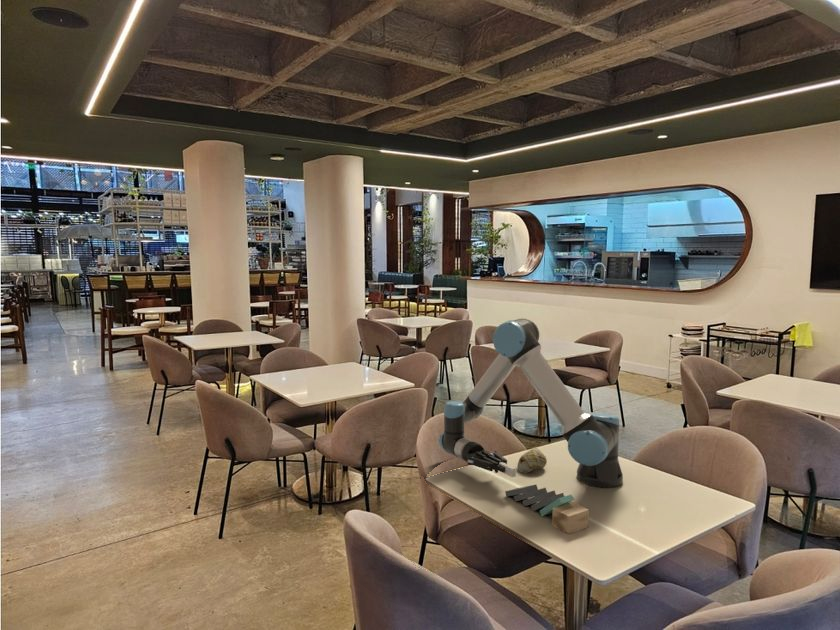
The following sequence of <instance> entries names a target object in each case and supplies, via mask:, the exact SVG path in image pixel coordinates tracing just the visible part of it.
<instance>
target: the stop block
mask: <svg viewBox="0 0 840 630" xmlns="http://www.w3.org/2000/svg"><path fill="white" fill-rule="evenodd" d="M589 513H590V512H589V509H588V508H586V507H584V506H582V505H580V504H578V503H576V502H574V501H571V502H570V503H567V504H564V505H561V506H558V507H555V508H553V513H551V515H552V516H551V517H552V521H551V522H552V523H551V525H552V526H553V527H555V528H557V529H559V530H560V531H562V532H564V533H566V534H568V535H569V534H572V533H574V532H578V531H580V530H583V529H586V528H589V517H590V515H589Z"/></svg>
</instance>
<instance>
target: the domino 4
mask: <svg viewBox="0 0 840 630" xmlns="http://www.w3.org/2000/svg"><path fill="white" fill-rule="evenodd" d="M564 496H565V494H564V492H561V493H558V494H557V493H556V495H554V496H551V497H548V498H546V499H544V500H542V501H540V502H537V503H534V504H531V505H530V508H531V510H532V512H536V511H538V510H542V509H543V508H545V507H546V506H548V505H549V504H551V503H552V502H554V501H555V500H557V499H558V498H561V497H564Z"/></svg>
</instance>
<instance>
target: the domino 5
mask: <svg viewBox="0 0 840 630" xmlns="http://www.w3.org/2000/svg"><path fill="white" fill-rule="evenodd" d="M574 500H575V499H574V497H573V495H572V494H568V495H564V497H561V498H558V499H557V500H555V501H554V502H552V503H551V504H549V505H548V506H546V507H545V508H542V509H539V513H540V515H541V516H542V517H543V516H547V515H549V514H553V508H555V507H558V506H561V505H564V504H567V503H570V502H574Z"/></svg>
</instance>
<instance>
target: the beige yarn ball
mask: <svg viewBox="0 0 840 630" xmlns="http://www.w3.org/2000/svg"><path fill="white" fill-rule="evenodd" d="M547 461H548V460H547V456H546V455H545V454H544V453H543V452H542V451H541V450H540V449H539V448H538V447H533V448H531V449H530V450H528V451H527V452H524V454H522V455H521V456H520V457H519V460H518V462H517V467H516V468H517V471H519V472H520V471H521V473H524V472H526V473H527V474H528V473H529V472H531V471H533V470H535V469H538V470H542V469H544V468H545V467H546V466H547Z"/></svg>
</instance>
